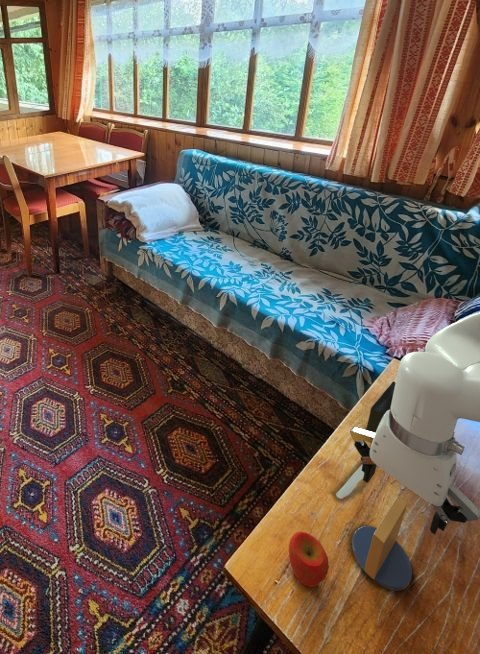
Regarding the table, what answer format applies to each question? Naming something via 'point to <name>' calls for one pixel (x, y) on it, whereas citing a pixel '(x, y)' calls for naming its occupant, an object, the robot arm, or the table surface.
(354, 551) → the plate
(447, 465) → the robot arm
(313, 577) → the apple
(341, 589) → the table surface
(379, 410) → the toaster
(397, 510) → the toast
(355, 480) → the butter knife
